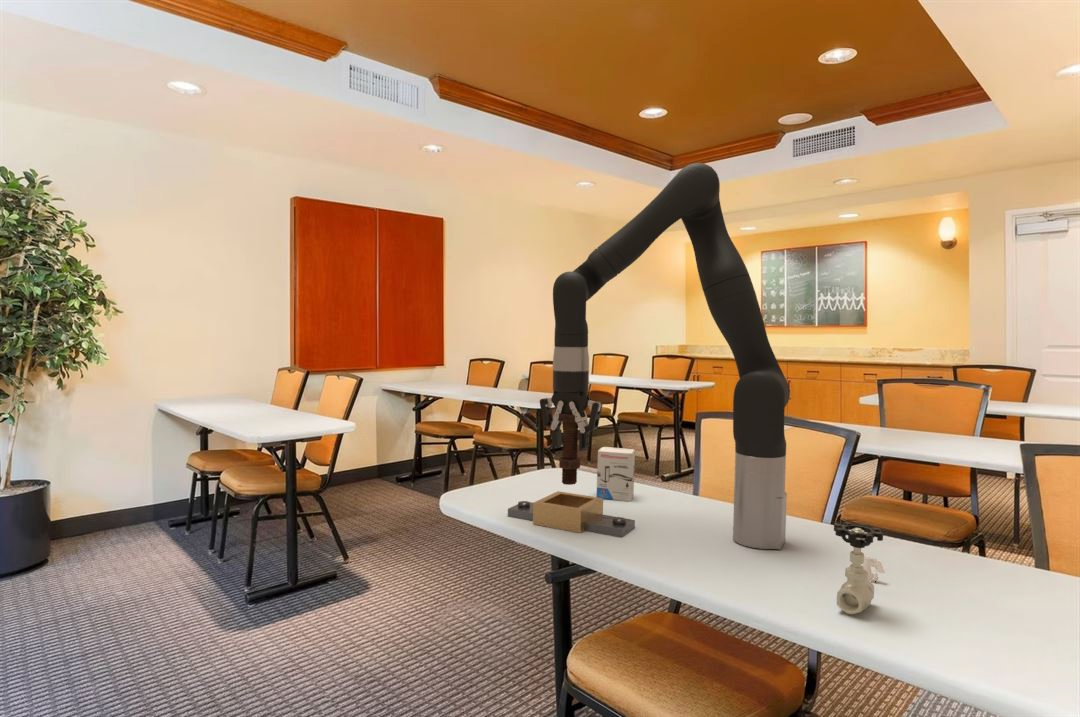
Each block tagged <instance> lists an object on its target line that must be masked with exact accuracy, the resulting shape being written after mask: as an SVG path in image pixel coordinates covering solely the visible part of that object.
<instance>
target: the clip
mask: <svg viewBox="0 0 1080 717" xmlns="http://www.w3.org/2000/svg"><path fill="white" fill-rule="evenodd" d="M882 564H883V563H882V561H881V560H877V558H871V557H869V556H868V557H867V556H865V555H864V563H863V564H861V566H863V567H864V570H866V571H867V572H868V579H867V580H868V581H872V580H873V582H874V583H875V581H877V582H878V580H879V575H878V573H880V574H881V573H882V574H885V570H884V567H883V566H884V565H882ZM872 567H873V568H875V572H877V573H873V572H872Z"/></svg>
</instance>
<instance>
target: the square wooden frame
mask: <svg viewBox="0 0 1080 717" xmlns="http://www.w3.org/2000/svg"><path fill="white" fill-rule="evenodd" d="M532 503H533V521H532V525H536V526H541V527H548V528H551V529H555V530H556V529H557V530H562V531H567V532H572V533H577V534H581V533H583V532H584V531H585V522H587V521H588V520H590V519H592V518H593V517H595V516H597V515H598V514H603V515H604V499H603V498H598V497H597V496H591V495H585V494H579V493H578V494H577V493H571V492H565V491H559V490H557V491H555V492H553V493H552V494H549V495H547V496H544V497H542V498H540V499H538V500H536V501H534V502H532ZM585 532H586V531H585Z"/></svg>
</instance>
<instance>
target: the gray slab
mask: <svg viewBox="0 0 1080 717" xmlns="http://www.w3.org/2000/svg"><path fill="white" fill-rule="evenodd" d="M533 503H534V502H531V501H528V500H526V501H525V500H521V501H520V500H519V501H518V503H517V504H515V505H513V506H511V507H509V508H507V517H509V518H510V517H512V518H516V519H520V520H521V519H522V520H527V521H532V522H533Z"/></svg>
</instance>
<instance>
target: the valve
mask: <svg viewBox="0 0 1080 717" xmlns="http://www.w3.org/2000/svg"><path fill="white" fill-rule="evenodd" d="M833 531H834V532H835V536H836V537H841V539H842V540H843V542H845V543H848V544H849V545H850V546H851V547H853V550H852V551H850V553H849V562H850V563H851V564H850V565H849V566H847V567H845V570H844V571H845V572H844V576H845V577H846V578H847V581H845V582H843V584H842V585H841V587H840V589H839V590H838V591H837V592H836V606H837V607H838V608H840V609H841V610H842V611H843V612H845V613H846V614H847V613H848V614H851V615H855V614H858V613H859V614H860V613H862V612H863V611H864V610H865V609H867V608H868V607H869V606H870V605H871V603H872V601H873V599H874V598H875V597H874V596H875V585H874V583H873V582H870V581H868V580H867V579H868V572H867V571H866V570H864V567H863V566H862V564H863V563H864V556H865V553H863V552H862V549H865V548H866V547H868V546H869V547H870V545H872V543H874V538H877V539H876V540H877V541H878V542H882V541H883V540H884V532H882V530H881V528H879V527H868V524H867V523H859V524H853V523H852V522H850V521H844V522H843V524H841V523H833ZM848 614H847V615H848Z"/></svg>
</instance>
